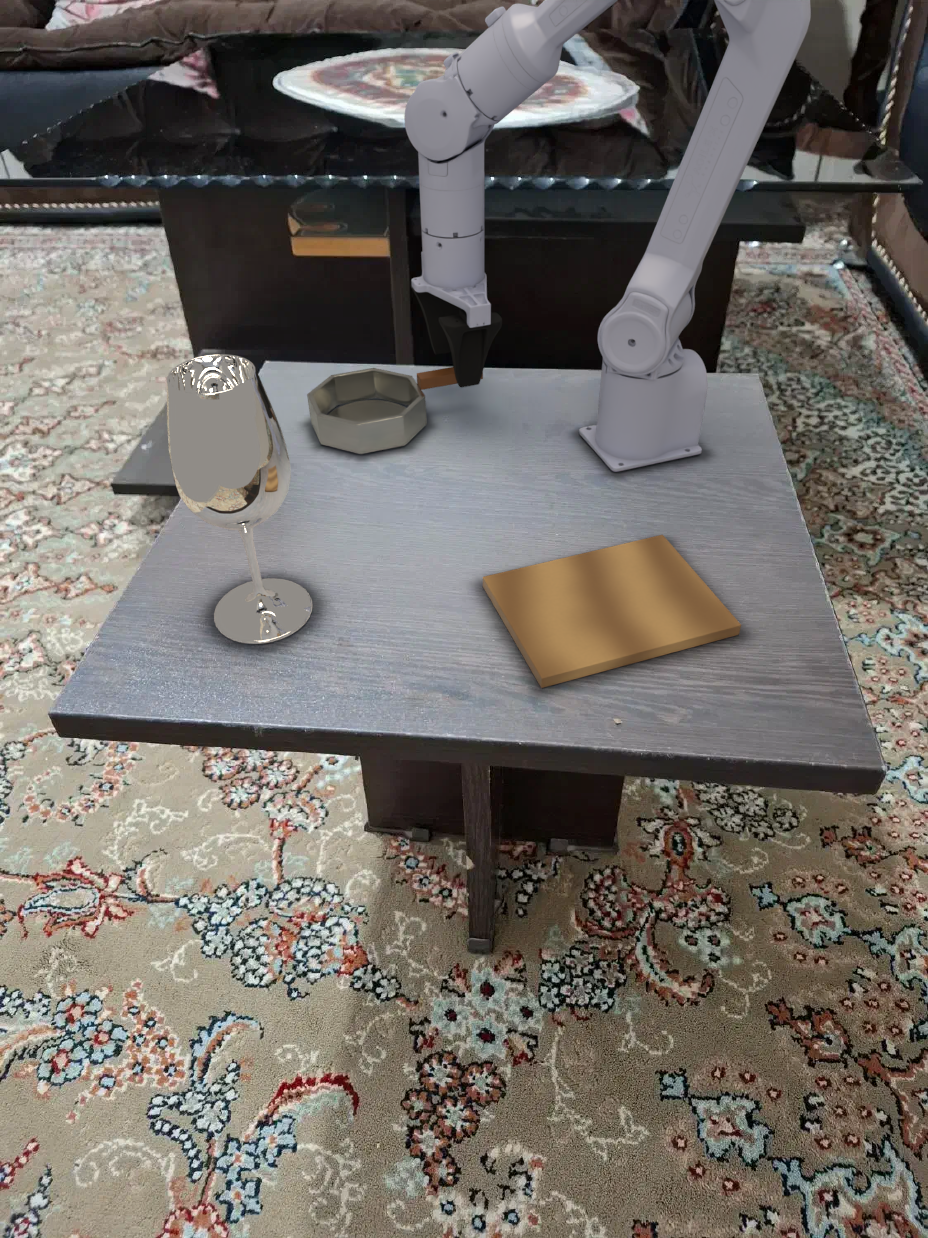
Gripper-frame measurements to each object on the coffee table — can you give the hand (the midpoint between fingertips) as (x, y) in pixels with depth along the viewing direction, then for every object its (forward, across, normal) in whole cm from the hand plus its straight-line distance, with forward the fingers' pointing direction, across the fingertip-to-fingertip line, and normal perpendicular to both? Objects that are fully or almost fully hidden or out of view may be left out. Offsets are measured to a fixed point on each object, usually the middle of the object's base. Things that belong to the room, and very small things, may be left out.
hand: (455, 367), depth 90 cm
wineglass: (+5, +25, -24) cm, 35 cm away
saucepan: (+5, 0, -6) cm, 8 cm away
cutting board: (+4, +34, 0) cm, 34 cm away
